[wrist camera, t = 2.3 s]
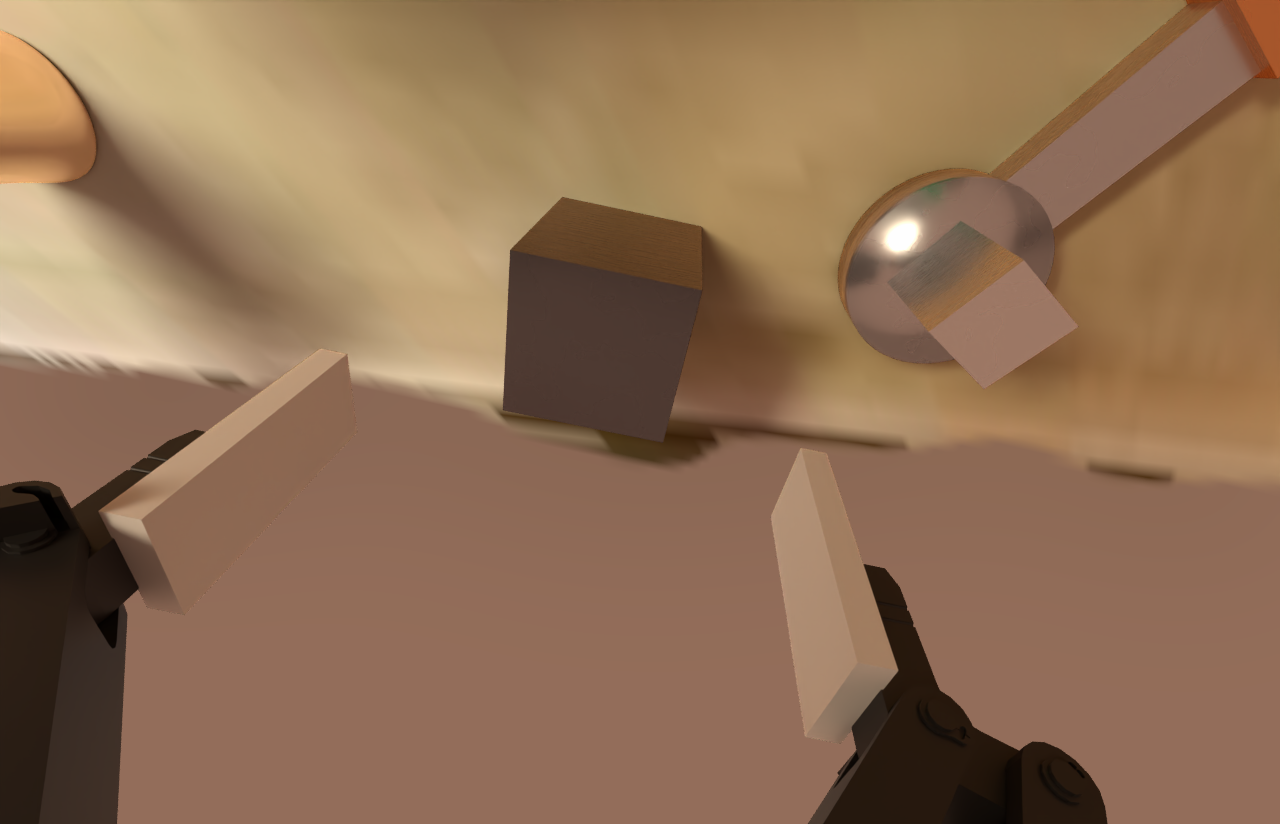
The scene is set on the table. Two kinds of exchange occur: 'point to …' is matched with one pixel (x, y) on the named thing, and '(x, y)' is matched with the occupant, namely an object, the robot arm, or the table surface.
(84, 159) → the beer glass
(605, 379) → the brushed brown cube
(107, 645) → the robot arm
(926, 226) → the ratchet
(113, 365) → the table surface
